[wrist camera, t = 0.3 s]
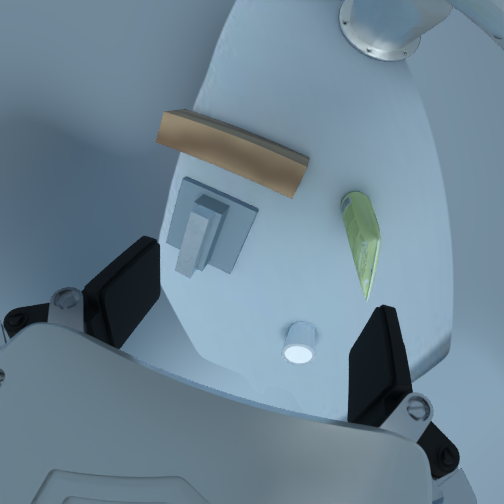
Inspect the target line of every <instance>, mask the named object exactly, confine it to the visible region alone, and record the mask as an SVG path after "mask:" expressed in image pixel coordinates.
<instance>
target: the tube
mask: <svg viewBox="0 0 504 504" xmlns="http://www.w3.org/2000/svg"><path fill="white" fill-rule="evenodd" d="M341 209H342V214H343V219H344V224H345V228H346V232H347V236H348V240H349V244H350V248H351V251H352V255H353V259H354V262H355V266H356V270H357V273H358V277H359V280H360V284H361V287H362V290H363V293H364V296H365V298H366V302H368V297H369V293H370V291H371V288H372V285H373V281H374V277H375V273H376V268H377V263H378V257H379V251H380V245H381V237H380V230H379V226H378V222H377V219H376V216H375V213H374V210H373V208H372V205H371V202H370V200H369V198H368V197H367V196H366V195H365V194H363V193H361V192H357V191H355V192H350V193H348V194H347V195H346V196H345V197H344V198H343V200H342V203H341Z"/></svg>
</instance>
